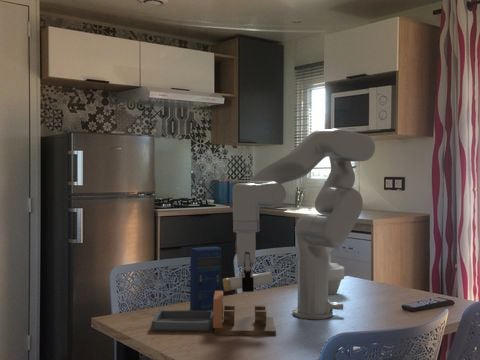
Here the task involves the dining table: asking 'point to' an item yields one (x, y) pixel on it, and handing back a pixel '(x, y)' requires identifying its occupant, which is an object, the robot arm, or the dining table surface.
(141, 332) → the dining table surface
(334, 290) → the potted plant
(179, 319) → the tray
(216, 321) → the orange bracket
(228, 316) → the cradle board
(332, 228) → the robot arm
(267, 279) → the yellow-tipped white cylinder
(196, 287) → the electronic device
